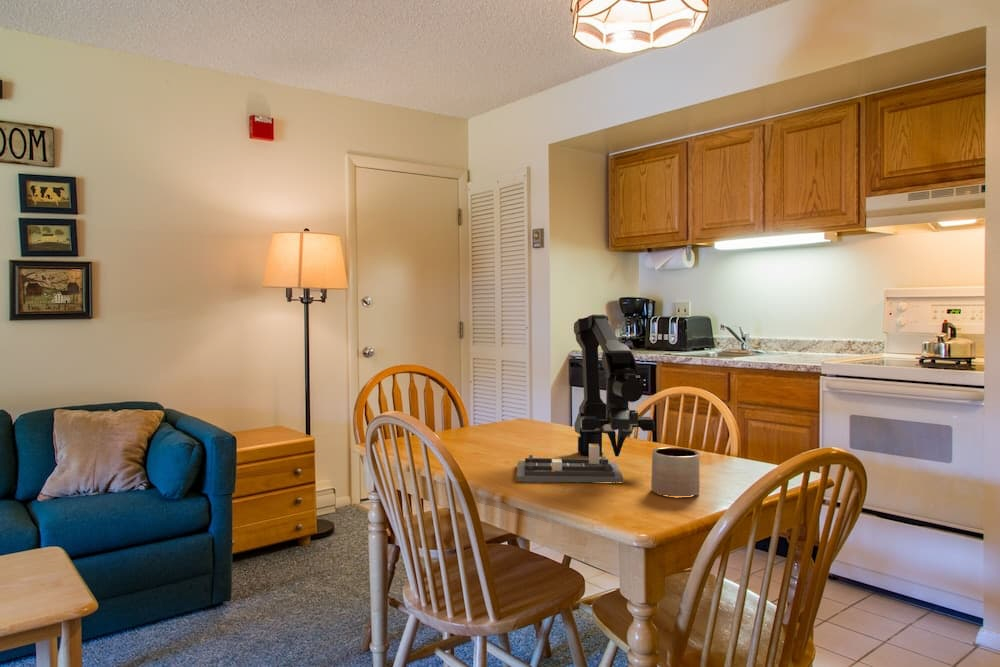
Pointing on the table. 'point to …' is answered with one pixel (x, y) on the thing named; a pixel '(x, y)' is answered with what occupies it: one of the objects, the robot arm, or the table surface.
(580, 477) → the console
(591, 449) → the fader
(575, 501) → the table surface
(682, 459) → the planter
